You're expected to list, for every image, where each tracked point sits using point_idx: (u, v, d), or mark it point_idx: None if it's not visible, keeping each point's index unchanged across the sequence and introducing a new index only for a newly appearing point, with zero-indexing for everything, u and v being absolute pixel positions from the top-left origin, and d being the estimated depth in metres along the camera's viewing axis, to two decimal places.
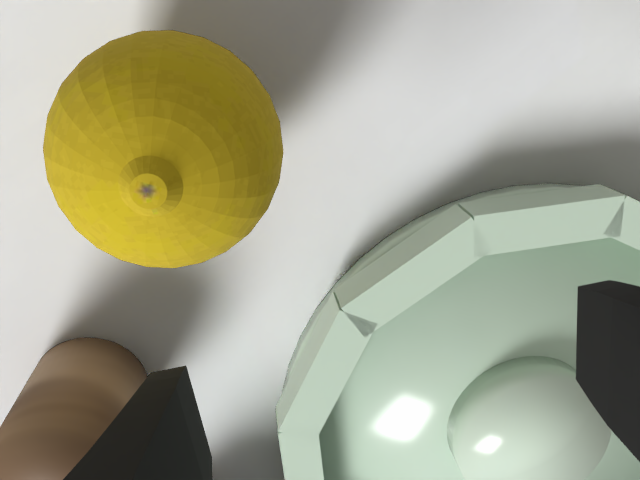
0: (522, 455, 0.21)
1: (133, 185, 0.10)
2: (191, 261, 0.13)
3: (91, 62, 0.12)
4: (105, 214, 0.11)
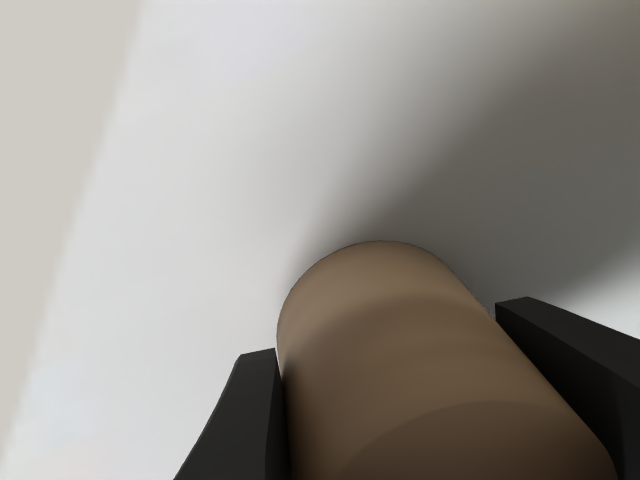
0: None
1: None
2: None
3: None
4: None
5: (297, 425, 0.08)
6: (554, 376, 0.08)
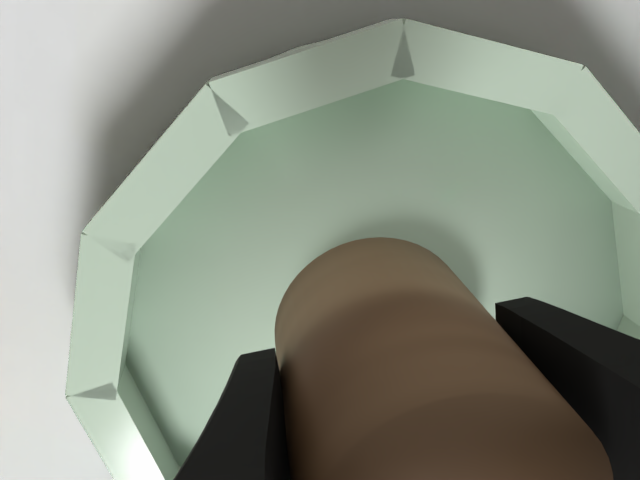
0: None
1: None
2: None
3: None
4: None
5: (295, 416, 0.08)
6: (554, 377, 0.08)
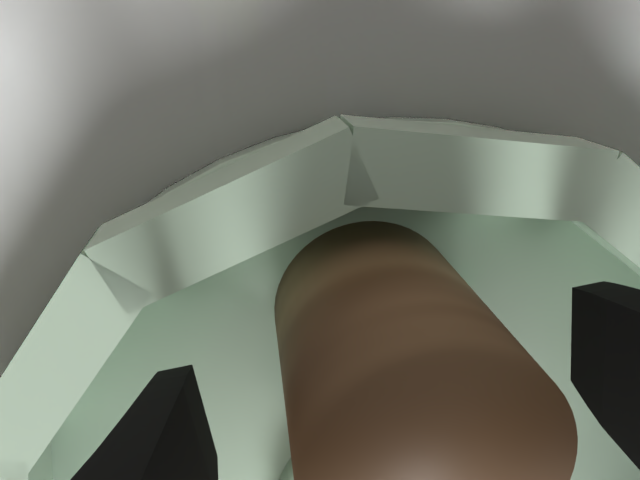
0: None
1: None
2: None
3: None
4: None
5: (292, 377, 0.09)
6: None
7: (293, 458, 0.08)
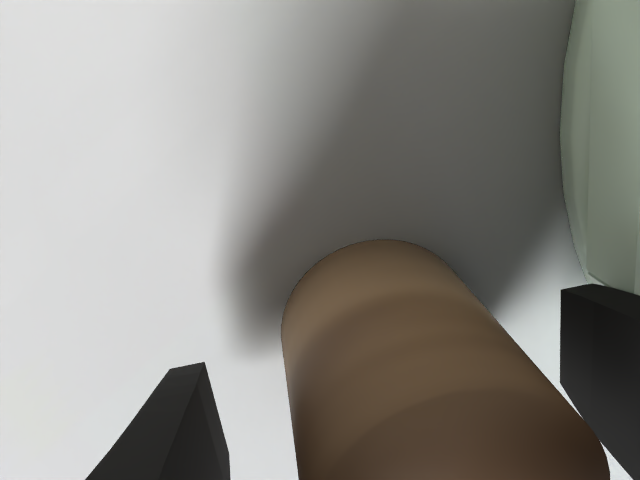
0: None
1: None
2: None
3: None
4: None
5: None
6: (632, 359, 0.08)
7: None
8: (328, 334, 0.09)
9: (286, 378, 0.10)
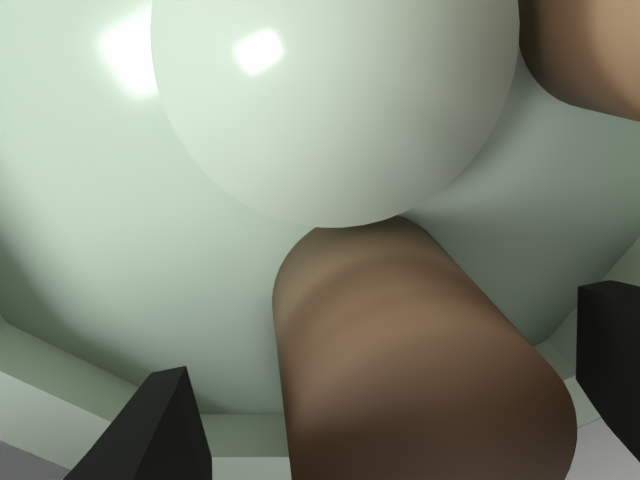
0: (300, 52, 0.09)
1: None
2: None
3: None
4: None
5: None
6: None
7: None
8: (310, 300, 0.09)
9: None
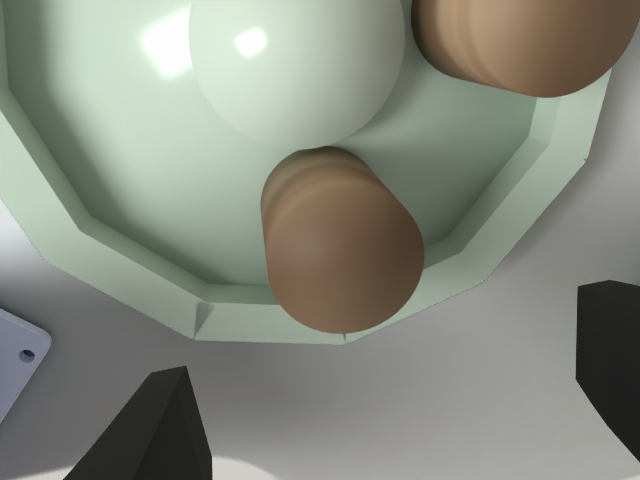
0: (275, 41, 0.16)
1: None
2: None
3: None
4: None
5: None
6: None
7: None
8: (281, 187, 0.16)
9: (262, 226, 0.17)
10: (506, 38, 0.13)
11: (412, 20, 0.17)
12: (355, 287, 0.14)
